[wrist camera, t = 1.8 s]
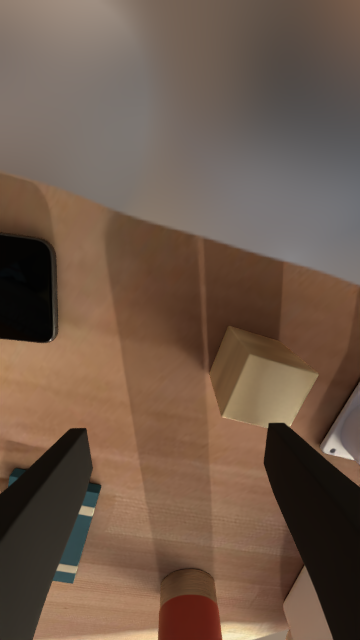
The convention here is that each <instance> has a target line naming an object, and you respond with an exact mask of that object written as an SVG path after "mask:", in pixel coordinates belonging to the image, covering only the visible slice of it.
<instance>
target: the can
mask: <svg viewBox="0 0 360 640" xmlns="http://www.w3.org/2000/svg"><path fill="white" fill-rule="evenodd" d="M158 640H222V633H221V625H220V617H219V610H218V605H217V597H216V589H215V582H214V579H213V578H212V577H211V576H210V575H209V574H208V573H206V572H204V571H201V570H197V569H183V570H178V571H175V572H173V573H171V574H169V575H168V576H166V577H165V578H164V579H163V581H162V583H161V592H160V611H159V630H158Z"/></svg>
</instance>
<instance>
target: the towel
mask: <svg viewBox="0 0 360 640" xmlns="http://www.w3.org/2000/svg"><path fill="white" fill-rule="evenodd" d="M25 471H26V470H23V469H18V468H15V469H14V471H13V472H12V473H11V475H10V476H9V484H8V487H9V486H10V485H11V484H12V483H13V482H15V481H16V480H17V479H18V478H19V477H20V476H21V475H22V474H23V473H24V472H25ZM100 489H101V485H97V484H92V483H89V484H88V488H87V491H86V495H85V498H84V501H83V504H82V506H81V509H80V511H79V514H78V517H77V519H76V522H75V524H74V527H73V530H72V532H71V535H70V537H69V540H68V542H67V545H66V547H65V550H64V552H63V555H62V558H61V560H60V563H59V565H58V568H57V570H56V573H55V575H54V578H53V581H59V582H65V583H72V584H73V581H74V578H75V575H76V571H77V568H78V565H79V561H80V558H81V554H82V551H83V547H84V544H85V541H86V537H87V534H88V530H89V527H90V523H91V520H92V517H93V513H94V510H95V506H96V503H97V499H98V496H99V493H100Z"/></svg>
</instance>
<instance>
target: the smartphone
mask: <svg viewBox="0 0 360 640" xmlns="http://www.w3.org/2000/svg"><path fill="white" fill-rule="evenodd" d="M57 334H58V299H57V264H56V252H55V249H54V247H53V246H52V245H51V244H50V243H49V242H48V241H46V240H44V239H42V238H37V237H31V236H24V235H16V234H9V233H2V232H0V339H7V340H17V341H27V342H36V343H48V342H51V341H53V340H54V339H55V338H56V336H57Z"/></svg>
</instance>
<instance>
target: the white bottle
mask: <svg viewBox="0 0 360 640" xmlns="http://www.w3.org/2000/svg"><path fill="white" fill-rule="evenodd" d="M283 609H284V613H285V616H286V619H287V622H288V625H289V628H290V629H289V631H288V633H287V636H286V640H333V638H332V635H331V632H330V629H329V627H328V624H327V621H326V618H325V615H324V613H323V610H322V607H321V604H320V602H319V599H318V596H317V593H316V591H315V589H314V586H313V584H312V581H311V579H310V576H309V574H308V571H307V569H306V567H305V565H304V567H303V569H302V571H301V573H300V574H299V576H298V578H297V580H296V582H295V583H294V585H293V587H292V589H291V591H290V592H289V594H288V596H287V598H286V599H285V601H284V603H283Z"/></svg>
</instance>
